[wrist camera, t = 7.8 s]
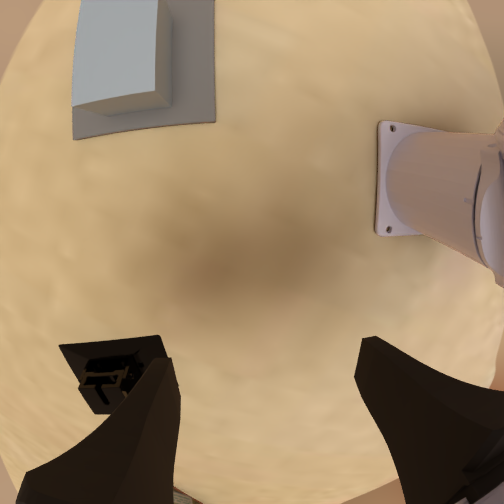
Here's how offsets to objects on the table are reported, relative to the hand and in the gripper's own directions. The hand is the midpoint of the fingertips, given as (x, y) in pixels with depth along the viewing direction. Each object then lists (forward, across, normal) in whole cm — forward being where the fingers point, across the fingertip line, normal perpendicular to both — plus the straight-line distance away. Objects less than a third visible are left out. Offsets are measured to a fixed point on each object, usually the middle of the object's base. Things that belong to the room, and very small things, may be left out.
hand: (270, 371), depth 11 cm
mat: (+10, +6, -14) cm, 18 cm away
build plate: (+11, +11, +8) cm, 17 cm away
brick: (+9, +6, -14) cm, 18 cm away
